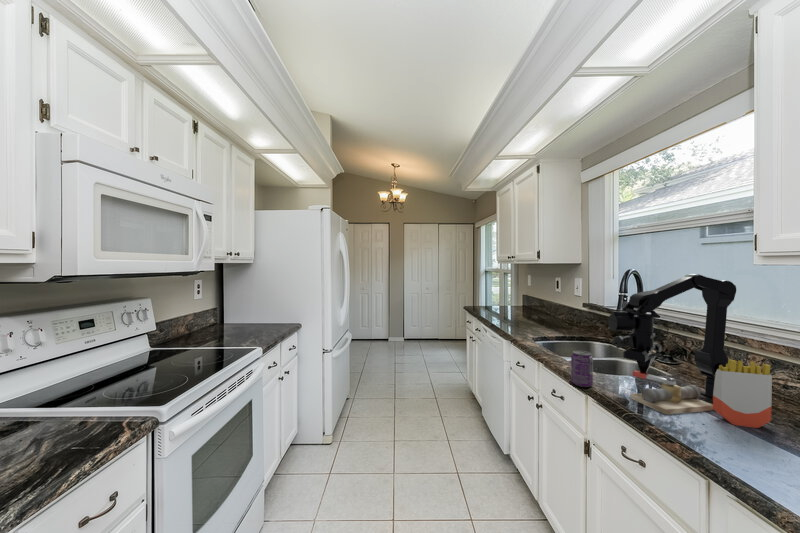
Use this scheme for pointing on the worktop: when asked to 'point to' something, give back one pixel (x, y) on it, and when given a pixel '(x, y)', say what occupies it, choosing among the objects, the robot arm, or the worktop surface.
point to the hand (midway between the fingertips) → (643, 375)
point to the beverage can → (582, 368)
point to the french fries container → (743, 393)
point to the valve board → (675, 406)
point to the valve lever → (654, 378)
